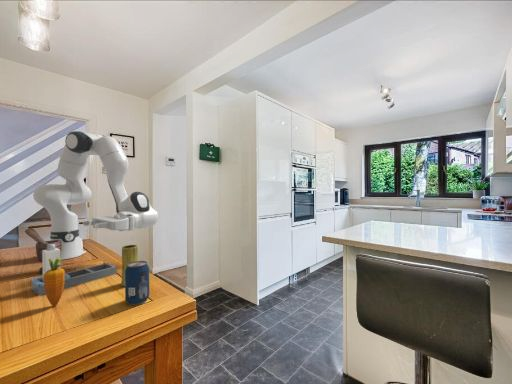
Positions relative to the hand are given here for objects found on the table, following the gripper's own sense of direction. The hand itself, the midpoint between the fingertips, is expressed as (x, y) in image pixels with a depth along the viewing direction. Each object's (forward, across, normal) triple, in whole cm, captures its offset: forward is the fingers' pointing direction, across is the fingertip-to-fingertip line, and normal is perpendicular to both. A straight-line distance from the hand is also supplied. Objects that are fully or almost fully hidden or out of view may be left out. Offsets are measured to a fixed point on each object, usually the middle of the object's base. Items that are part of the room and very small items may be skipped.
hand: (88, 224), depth 95 cm
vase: (-6, +21, +21) cm, 30 cm away
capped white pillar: (+12, +1, +22) cm, 25 cm away
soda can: (0, +37, +21) cm, 42 cm away
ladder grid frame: (+4, +1, +22) cm, 22 cm away
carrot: (+16, +19, +21) cm, 33 cm away
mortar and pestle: (+8, -23, +23) cm, 33 cm away
